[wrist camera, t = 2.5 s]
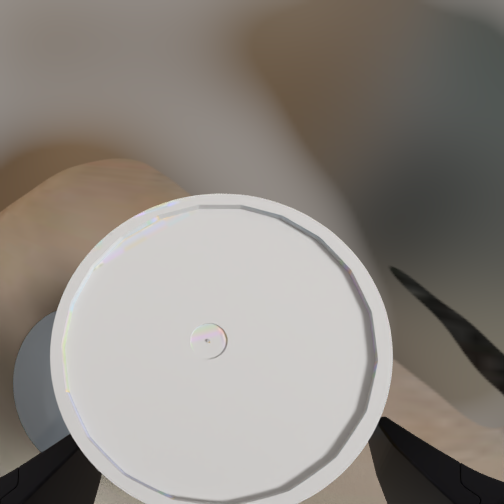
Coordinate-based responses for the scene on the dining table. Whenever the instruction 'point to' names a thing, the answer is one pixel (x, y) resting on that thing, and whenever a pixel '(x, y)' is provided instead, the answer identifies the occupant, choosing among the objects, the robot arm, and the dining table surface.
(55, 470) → the robot arm
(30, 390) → the stand
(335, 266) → the bottle
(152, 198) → the dining table surface
